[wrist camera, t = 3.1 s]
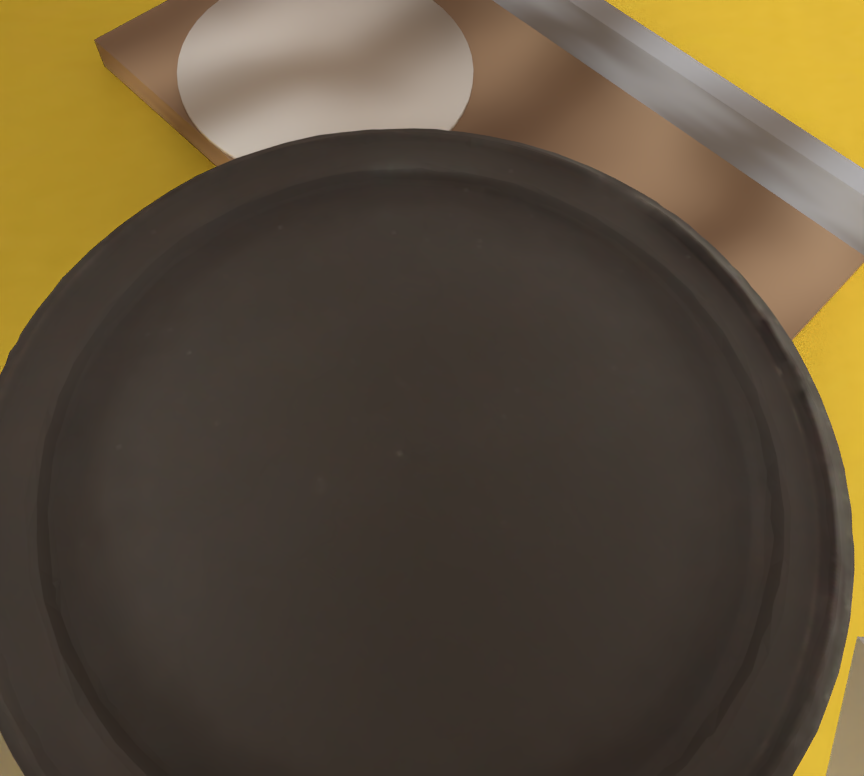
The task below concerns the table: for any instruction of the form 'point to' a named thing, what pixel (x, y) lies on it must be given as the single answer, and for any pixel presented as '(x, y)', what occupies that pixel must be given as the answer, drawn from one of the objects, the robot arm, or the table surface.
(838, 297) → the table surface
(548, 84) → the board
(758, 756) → the coffee can
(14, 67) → the table surface
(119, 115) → the table surface
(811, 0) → the table surface
